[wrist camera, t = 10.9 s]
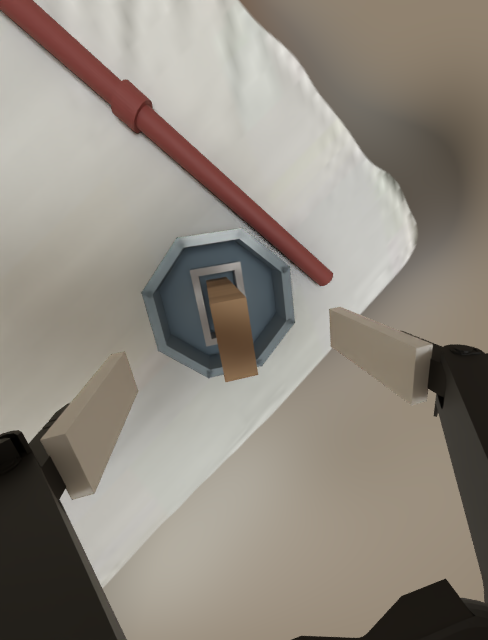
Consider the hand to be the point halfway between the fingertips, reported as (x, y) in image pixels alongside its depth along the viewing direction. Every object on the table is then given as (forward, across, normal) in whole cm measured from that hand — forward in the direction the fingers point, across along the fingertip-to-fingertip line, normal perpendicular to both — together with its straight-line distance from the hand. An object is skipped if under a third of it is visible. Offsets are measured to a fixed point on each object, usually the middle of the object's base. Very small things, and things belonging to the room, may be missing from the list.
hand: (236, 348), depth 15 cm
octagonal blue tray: (+17, 0, 0) cm, 17 cm away
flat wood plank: (+16, 0, 0) cm, 16 cm away
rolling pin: (+18, -1, +16) cm, 24 cm away
